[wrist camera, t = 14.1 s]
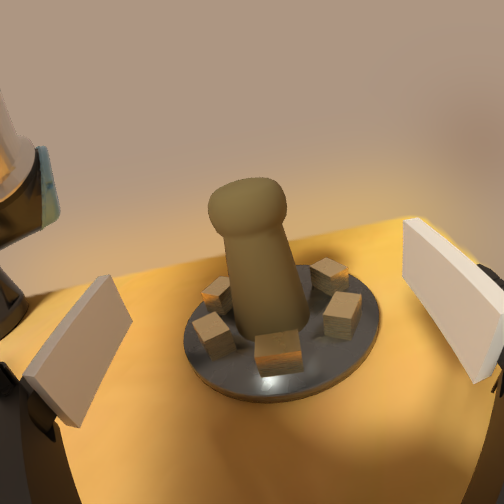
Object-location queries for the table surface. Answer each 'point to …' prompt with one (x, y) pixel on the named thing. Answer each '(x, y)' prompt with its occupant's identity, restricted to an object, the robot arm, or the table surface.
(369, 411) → the table surface
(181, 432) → the table surface
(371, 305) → the ring holder
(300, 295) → the cork
